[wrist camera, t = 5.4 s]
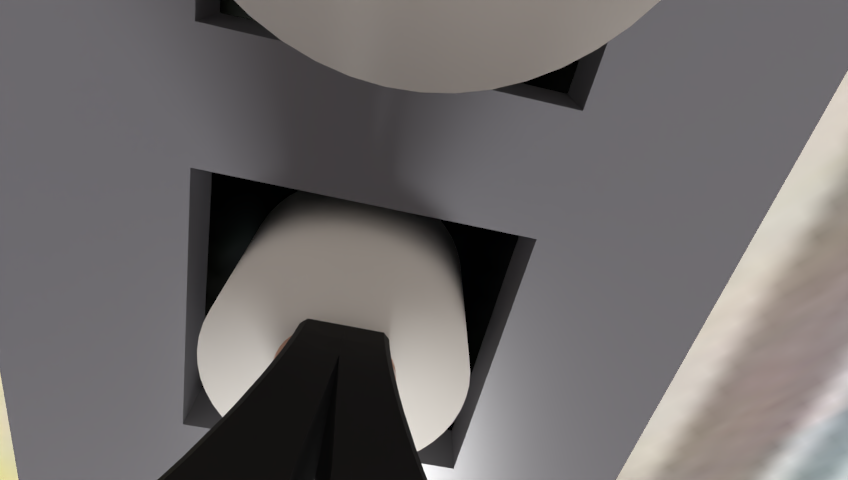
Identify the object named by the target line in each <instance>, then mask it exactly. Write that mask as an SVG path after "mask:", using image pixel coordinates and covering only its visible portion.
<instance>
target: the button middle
mask: <svg viewBox="0 0 848 480" xmlns="http://www.w3.org/2000/svg"><path fill="white" fill-rule="evenodd" d="M306 319H314V320H319V321H324V322H330V323H335V324H340V325H346V326H351V327H357V328H362V329H367V330H373V331H378V332H384V333H385V335H386V336H387V337H388V339H389V344H390V353H391V359H392V365H393V370H394V375H395V379H396V383H397V387H398V391H399V395H400V399H401V403H402V406H403V410H404V413H405V416H406V419H407V422H408V425H409V429H410V432H411V435H412V438H413V441H414V444H415V447H416V450H417V451H419V450H421V449H423V448H424V447H426V446H427V445H429V444H430V443H432V442H433V441H435V440H436V439H437V438H438V437H439V436H440V435H442V434H443V433H444V432H445V431H446V430H447V428H448V427H449V426H450V425H451V424H452V423H453V421H454V420H455V418H456V417H457V415H458V414H459V412H460V411H461V408H462V406H463V404H464V401H465V399H466V396H467V392H468V388H469V382H470V362H469V351H468V340H467V329H466V318H465V308H464V297H463V286H462V275H461V265H460V259H459V255H458V251H457V248H456V246H455V243H454V241H453V238H452V237H451V235H450V233H449V232H448V230H447V228H446V227H445V225H444V224H443V223H442V222H441V220H440V219H437V218H432V217H427V216H422V215H417V214H413V213H408V212H403V211H398V210H393V209H388V208H384V207H379V206H374V205H369V204H364V203H359V202H355V201H350V200H345V199H340V198H335V197H330V196H326V195H321V194H316V193H311V192H306V191H301V190H299V191H297V192H295V193H293V194H291V195H290V196H288V197H287V198H286V199H284V200H283V201H281V202H280V203H279V204H278V205H277V206H276V207H275V208H274V209H273V210H272V211H271V212H270V213H269V214H268V215H267V217H266V218H265V219H264V221H263V222H262V224H261V225H260V227H259V229H258V230H257V232H256V234H255V235H254V237H253V239H252V240H251V242H250V244H249V245H248V247H247V249H246V250H245V252H244V254H243V255H242V257H241V259H240V260H239V262H238V264H237V265H236V267H235V269H234V270H233V272H232V274H231V275H230V277H229V279H228V280H227V282H226V284H225V285H224V287H223V289H222V290H221V292H220V294H219V295H218V297H217V299H216V300H215V302H214V304H213V305H212V307H211V309H210V311H209V313H208V314H207V316H206V318H205V320H204V322H203V325H202V328H201V331H200V334H199V338H198V346H197V365H198V369H199V374H200V379H201V381H202V384H203V386H204V389H205V392H206V393H207V395H208V397H209V399H210V401H211V402H212V404H213V405H214V407H215V408H216V409H217V411H218V412H219V413H220V415H221V416H222V417H223V416H224V415H225V414H226V413H227V412H228V411H229V410H230V409H231V408H232V407H233V406H234V405H235V404H236V403H237V401H238V400H239V399H240V398H241V397H242V396H243V395H244V394H245V393H246V391H247V390H248V389H249V388H250V387H251V386H252V385H253V384H254V382H255V381H256V380H257V379H258V378H259V377H260V376H261V375H262V373H263V372H264V371H265V370H266V369H267V367H268V366H269V365H270V364H271V362H272V361H273V360H274V359H275V358H276V356H277V355H278V354H279V352H280V351H281V350H282V349H283V347H284V346H285V345H286V343H287V342H288V340H289V339H290V338H291V336H292V335H293V333H294V332H295V330H296V328H297V327H298V325H299V323H301V322H302V321H304V320H306Z"/></svg>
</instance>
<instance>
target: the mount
mask: <svg viewBox="0 0 848 480" xmlns="http://www.w3.org/2000/svg"><path fill="white" fill-rule="evenodd" d="M847 71H848V0H661V1H659V2H658V3H657V4H656V5H655V6H654V7H652V8H651V9H650V10H649V11H648V12H647V13H646V14H644V15H643V16H642V17H641V18H640V19H639V20H637V21H636V22H635V23H634V24H633V25H632V26H630V27H629V28H628V29H626V30H625V31H623V32H622V33H620V34H619V35H617V36H616V37H614V38H613V39H612V40H610V41H609V42H607V43H606V44H604V45H603V46H601V47H600V48H598V49H597V50H595V51H593V52H591V53H589V54H588V55H586V56H584V57H582V58H580V60H579V62H578V65H577V68H576V71H575V74H574V77H573V80H572V83H571V86H570V89H569V92H568V94H566V93H561V92H557V91H553V90H549V89H544V88H540V87H536V86H531V85H527V84H523V83H517V84H513V85H509V86H504V87H500V88H496V89H492V90H483V91H474V92H464V93H423V92H414V91H408V90H402V89H396V88H389V87H384V86H380V85H377V84H374V83H370V82H367V81H364V80H360V79H357V78H354V77H350V76H348V75H346V74H343V73H341V72H339V71H337V70H334V69H332V68H330V67H328V66H325V65H323V64H321V63H318V62H316V61H314V60H313V59H311V58H309V57H308V56H306V55H304V54H303V53H301V52H299V51H298V50H296V49H294V48H293V47H291V46H289V45H288V44H286V43H284V42H283V41H281V40H280V39H279V38H278V37H276V36H275V35H274V34H272V33H271V32H270V31H269V30H267V29H266V28H265V27H263V26H262V25H261V24H259V23H258V22H257V21H253V20H249V19H245V18H240V17H236V16H232V15H228V14H223V13H220V0H0V373H1V378H2V384H3V390H4V396H5V402H6V408H7V414H8V420H9V425H10V431H11V437H12V443H13V449H14V455H15V461H16V466H17V472H18V478H19V480H157V479H159V478H160V477H161V476H162V475H163V474H164V473H165V472H166V471H167V470H169V469H170V468H171V467H172V466H173V465H174V464H175V463H176V462H177V461H178V460H180V459H181V458H182V457H183V456H184V455H185V454H186V453H187V452H188V451H189V450H190V449H191V448H192V447H193V446H194V445H195V444H196V443H197V442H198V441H199V440H200V439H201V438H202V437H203V436H204V435H205V434H206V433H207V432H208V431H209V430H210V429H211V428H212V427H213V426H214V425H215V424H216V423H217V422H218V421H219V420H220V419H221V418H222V416H221V415H220V413H219V412H218V411H217V409H216V408H215V407H214V405H213V404H212V402H211V401H210V399H209V397H208V395H207V393H206V392H205V389H204V388H201V385H202V381H201V379H200V374H199V369H198V365H197V346H198V338H199V334H200V331H201V328H202V325H203V322H204V320H205V303H206V283H207V263H208V243H209V222H210V202H211V182H212V172H214V173H219V174H224V175H229V176H234V177H239V178H243V179H248V180H253V181H258V182H263V183H268V184H272V185H277V186H282V187H287V188H292V189H297V190H301V191H306V192H311V193H316V194H321V195H326V196H330V197H335V198H340V199H345V200H350V201H355V202H359V203H364V204H369V205H374V206H379V207H384V208H388V209H393V210H398V211H403V212H408V213H413V214H417V215H422V216H427V217H432V218H437V219H442V220H446V221H451V222H456V223H461V224H466V225H471V226H475V227H480V228H485V229H490V230H495V231H500V232H504V233H509V234H514V235H519V237H518V240H517V243H516V246H515V249H514V252H513V255H512V258H511V260H510V263H509V266H508V269H507V272H506V275H505V278H504V281H503V284H502V287H501V290H500V292H499V295H498V298H497V301H496V304H495V307H494V310H493V313H492V316H491V319H490V322H489V324H488V327H487V330H486V333H485V336H484V339H483V342H482V345H481V348H480V351H479V354H478V357H477V359H476V362H475V365H474V368H473V371H472V374H471V377H470V382H469V388H468V392H467V396H466V399H465V401H464V404H463V406H462V408H461V411H460V412H459V414H458V415H457V418H456V421H455V423H454V426H453V429H452V431H450V430H446V431H445V432H444V433H443V434H442V435H440V436H439V437H438V438H437V439H436V440H435V441H433V442H432V443H430V444H429V445H427V446H426V447H424V448H423V449H421V450H419V451H417V453H418V456H419V458H420V461H421V464H422V467H423V469H424V472H425V475H426V477H427V480H616V478H617V477H618V475H619V473H620V471H621V470H622V468H623V466H624V464H625V463H626V461H627V459H628V457H629V455H630V454H631V452H632V450H633V448H634V447H635V445H636V443H637V441H638V440H639V438H640V436H641V434H642V433H643V431H644V429H645V427H646V425H647V424H648V422H649V420H650V418H651V417H652V415H653V413H654V411H655V410H656V408H657V406H658V404H659V402H660V401H661V399H662V397H663V395H664V394H665V392H666V390H667V388H668V387H669V385H670V383H671V381H672V380H673V378H674V376H675V374H676V372H677V371H678V369H679V367H680V365H681V364H682V362H683V360H684V358H685V357H686V355H687V353H688V351H689V350H690V348H691V346H692V344H693V342H694V341H695V339H696V337H697V335H698V334H699V332H700V330H701V328H702V327H703V325H704V323H705V321H706V320H707V318H708V316H709V314H710V312H711V311H712V309H713V307H714V305H715V304H716V302H717V300H718V298H719V297H720V295H721V293H722V291H723V289H724V288H725V286H726V284H727V282H728V281H729V279H730V277H731V275H732V274H733V272H734V270H735V268H736V267H737V265H738V263H739V261H740V259H741V258H742V256H743V254H744V252H745V251H746V249H747V247H748V245H749V244H750V242H751V240H752V238H753V237H754V235H755V233H756V231H757V229H758V228H759V226H760V224H761V222H762V221H763V219H764V217H765V215H766V214H767V212H768V210H769V208H770V206H771V205H772V203H773V201H774V199H775V198H776V196H777V194H778V192H779V191H780V189H781V187H782V185H783V184H784V182H785V180H786V178H787V176H788V175H789V173H790V171H791V169H792V168H793V166H794V164H795V162H796V161H797V159H798V157H799V155H800V154H801V152H802V150H803V148H804V146H805V145H806V143H807V141H808V139H809V138H810V136H811V134H812V132H813V131H814V129H815V127H816V125H817V124H818V122H819V120H820V118H821V116H822V115H823V113H824V111H825V109H826V108H827V106H828V104H829V102H830V101H831V99H832V97H833V95H834V93H835V92H836V90H837V88H838V86H839V85H840V83H841V81H842V79H843V78H844V76H845V74H846V72H847Z"/></svg>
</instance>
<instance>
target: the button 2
mask: <svg viewBox="0 0 848 480" xmlns="http://www.w3.org/2000/svg"><path fill="white" fill-rule="evenodd" d="M234 1H235V2H236V3H237V4H238V5H239V6H240V7H241V8H242V9H243V10H244V11H245V12H246V13H247V14H248V15H249V16H250V17H252V18H253V19H254V20H256V21H257V22H258V23H259V24H261V25H262V26H263V27H265V28H266V29H267V30H269V31H270V32H271V33H272V34H274V35H275V36H276V37H278V38H279V39H280V40H281V41H283V42H284V43H286V44H288V45H289V46H291V47H293V48H294V49H296V50H298V51H299V52H301V53H303V54H304V55H306V56H308V57H309V58H311V59H313V60H314V61H316V62H318V63H321V64H323V65H325V66H328V67H330V68H332V69H334V70H337V71H339V72H341V73H343V74H346V75H348V76H350V77H354V78H357V79H360V80H364V81H367V82H370V83H374V84H377V85H380V86H384V87H389V88H396V89H402V90H408V91H414V92H423V93H464V92H474V91H483V90H492V89H496V88H500V87H504V86H509V85H513V84H517V83H521V82H525V81H529V80H531V79H534V78H537V77H539V76H542V75H545V74H547V73H550V72H552V71H555V70H558V69H560V68H563V67H565V66H567V65H568V64H570V63H572V62H574V61H576V60H578V59H580V58H582V57H584V56H586V55H588V54H589V53H591V52H593V51H595V50H597V49H598V48H600V47H601V46H603V45H604V44H606V43H607V42H609V41H610V40H612V39H613V38H614V37H616V36H617V35H619V34H620V33H622V32H623V31H625V30H626V29H628V28H629V27H630V26H632V25H633V24H634V23H635V22H636V21H637V20H639V19H640V18H641V17H642V16H643V15H644V14H646V13H647V12H648V11H649V10H650V9H651V8H652V7H654V6H655V5H656V4H657V3H658V2H659V1H661V0H234Z"/></svg>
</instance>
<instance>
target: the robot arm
mask: <svg viewBox="0 0 848 480" xmlns="http://www.w3.org/2000/svg"><path fill="white" fill-rule="evenodd" d="M157 480H427V477H426V475H425V472H424V469H423V467H422V464H421V461H420V458H419V456H418V453H417V450H416V447H415V444H414V441H413V438H412V435H411V432H410V429H409V425H408V422H407V419H406V416H405V413H404V410H403V406H402V403H401V399H400V395H399V391H398V387H397V383H396V379H395V375H394V370H393V365H392V359H391V353H390V344H389V339H388V337H387V336H386V335H385V333H384V332H378V331H373V330H367V329H362V328H357V327H351V326H346V325H340V324H335V323H330V322H324V321H319V320H314V319H306V320H304V321H302V322H301V323H299V325H298V327H297V328H296V330H295V332H294V333H293V335H292V336H291V338H290V339H289V340H288V342H287V343H286V345H285V346H284V347H283V349H282V350H281V351H280V352H279V354H278V355H277V356H276V358H275V359H274V360H273V361H272V362H271V364H270V365H269V366H268V367H267V369H266V370H265V371H264V372H263V373H262V375H261V376H260V377H259V378H258V379H257V380H256V381H255V382H254V384H253V385H252V386H251V387H250V388H249V389H248V390H247V391H246V393H245V394H244V395H243V396H242V397H241V398H240V399H239V400H238V401H237V403H236V404H235V405H234V406H233V407H232V408H231V409H230V410H229V411H228V412H227V413H226V414H225V415H224V416H223V417H222V418H221V419H220V420H219V421H218V422H217V423H216V424H215V425H214V426H213V427H212V428H211V429H210V430H209V431H208V432H207V433H206V434H205V435H204V436H203V437H202V438H201V439H200V440H199V441H198V442H197V443H196V444H195V445H194V446H193V447H192V448H191V449H190V450H189V451H188V452H187V453H186V454H185V455H184V456H183V457H182V458H181V459H180V460H178V461H177V462H176V463H175V464H174V465H173V466H172V467H171V468H170V469H169V470H167V471H166V472H165V473H164V474H163V475H162V476H161V477H160V478H159V479H157Z"/></svg>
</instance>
